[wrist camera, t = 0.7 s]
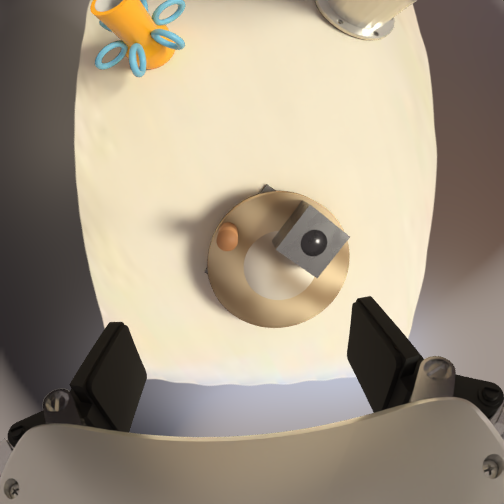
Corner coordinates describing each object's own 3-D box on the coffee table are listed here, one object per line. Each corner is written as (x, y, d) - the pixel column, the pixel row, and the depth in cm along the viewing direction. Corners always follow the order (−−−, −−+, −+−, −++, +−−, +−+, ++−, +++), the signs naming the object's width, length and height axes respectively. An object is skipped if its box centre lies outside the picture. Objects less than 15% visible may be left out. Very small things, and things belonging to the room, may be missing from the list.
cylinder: (195, 82, 28) (166, 32, 14) (118, 99, 28) (54, 71, 14) (192, 10, 24) (172, -54, 10) (121, 27, 24) (73, -20, 10)
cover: (302, 200, 31) (310, 204, 27) (339, 229, 32) (350, 237, 29) (271, 240, 32) (275, 249, 29) (309, 267, 34) (317, 278, 30)
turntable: (263, 162, 32) (270, 161, 25) (366, 244, 36) (388, 260, 30) (183, 276, 36) (174, 298, 30) (288, 337, 40) (295, 364, 34)
